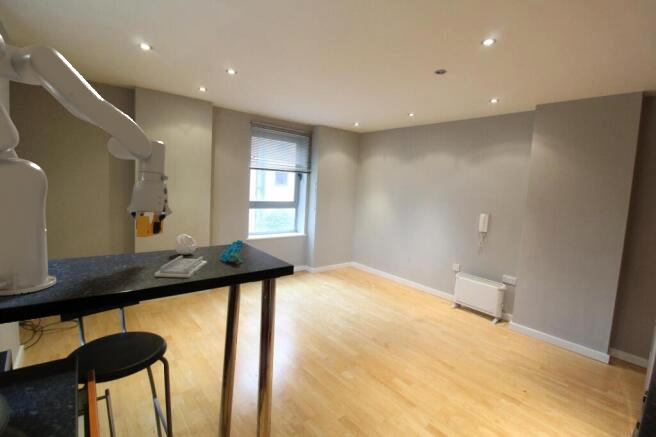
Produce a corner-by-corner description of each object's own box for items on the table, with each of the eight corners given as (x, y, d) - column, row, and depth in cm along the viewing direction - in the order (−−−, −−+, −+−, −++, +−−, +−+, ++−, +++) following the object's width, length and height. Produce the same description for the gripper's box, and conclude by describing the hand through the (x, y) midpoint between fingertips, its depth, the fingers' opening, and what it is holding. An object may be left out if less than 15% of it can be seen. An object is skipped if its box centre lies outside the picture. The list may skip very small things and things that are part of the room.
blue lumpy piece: (217, 253, 115) (237, 235, 117) (228, 263, 118) (247, 245, 119) (222, 265, 105) (244, 244, 107) (234, 275, 108) (255, 255, 110)
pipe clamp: (149, 232, 107) (150, 213, 107) (162, 233, 107) (163, 214, 107) (130, 236, 95) (131, 215, 95) (145, 237, 95) (146, 216, 95)
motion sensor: (184, 257, 112) (185, 237, 111) (168, 255, 115) (169, 234, 114) (200, 253, 120) (200, 234, 119) (185, 251, 122) (185, 232, 121)
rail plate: (189, 277, 90) (189, 269, 90) (154, 276, 90) (154, 267, 89) (206, 263, 106) (207, 256, 106) (177, 262, 105) (177, 255, 105)
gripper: (181, 181, 105) (179, 233, 106) (130, 176, 103) (128, 229, 105) (172, 179, 97) (169, 236, 99) (117, 175, 96) (115, 232, 97)
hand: (148, 232), depth 102 cm, fingers closed on pipe clamp, 4 cm apart
